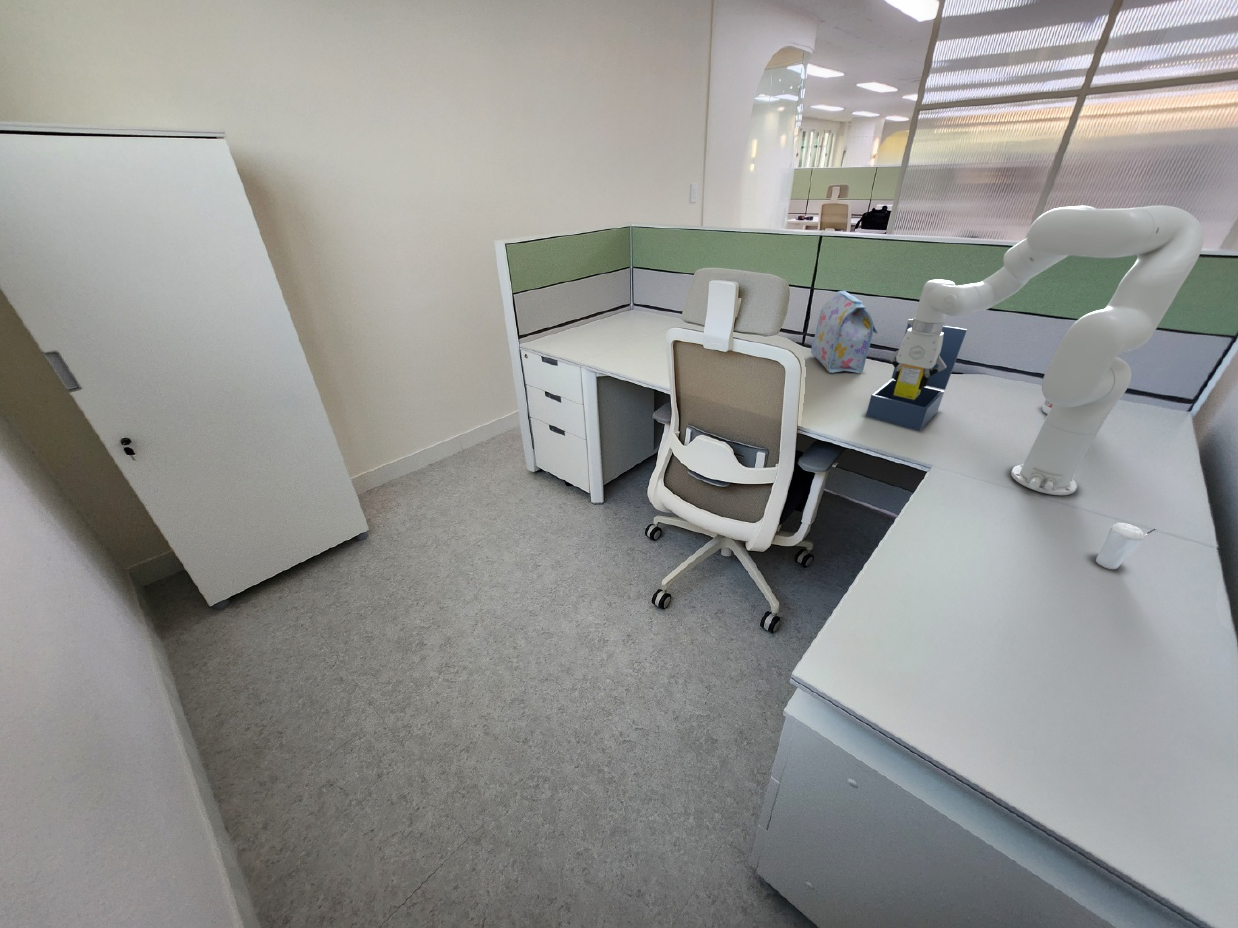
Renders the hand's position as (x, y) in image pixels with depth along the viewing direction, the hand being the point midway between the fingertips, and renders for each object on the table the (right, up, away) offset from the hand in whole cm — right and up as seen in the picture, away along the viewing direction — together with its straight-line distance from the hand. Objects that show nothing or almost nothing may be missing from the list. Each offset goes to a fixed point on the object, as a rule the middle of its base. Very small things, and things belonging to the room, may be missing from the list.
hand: (909, 385), depth 146 cm
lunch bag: (-1, +16, +46) cm, 49 cm away
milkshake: (+7, -44, -52) cm, 69 cm away
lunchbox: (+1, -8, +6) cm, 10 cm away
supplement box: (0, -3, +2) cm, 4 cm away
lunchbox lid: (+7, +10, +3) cm, 12 cm away
